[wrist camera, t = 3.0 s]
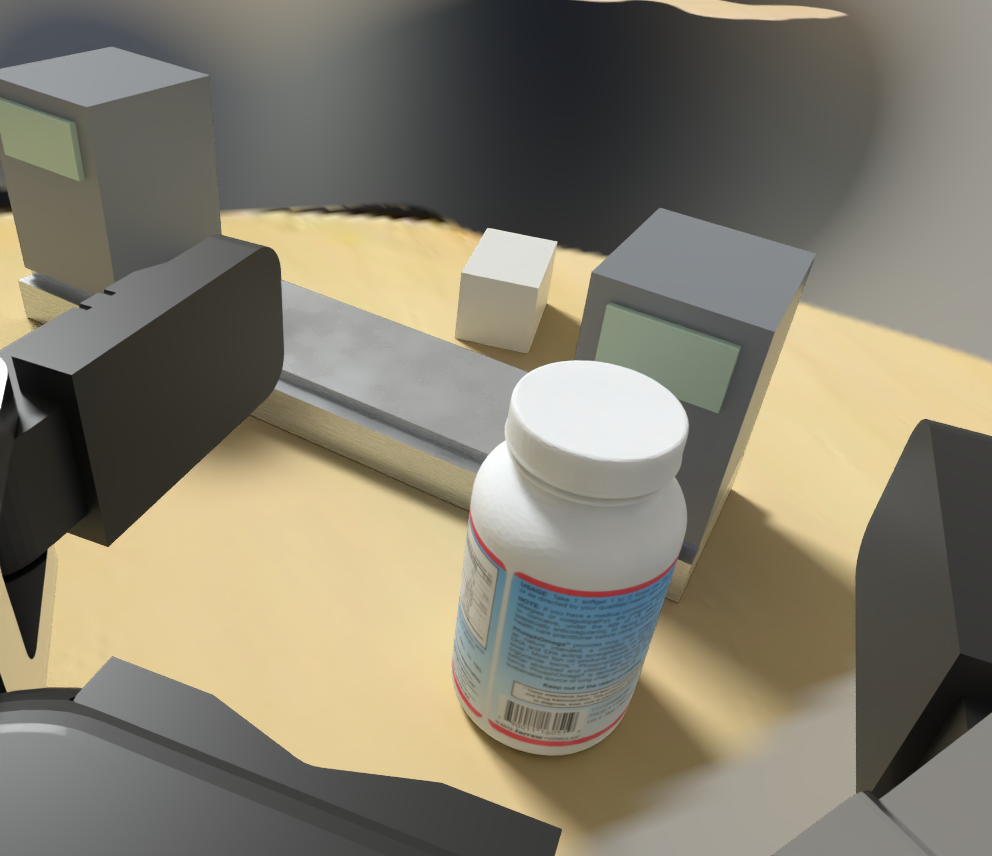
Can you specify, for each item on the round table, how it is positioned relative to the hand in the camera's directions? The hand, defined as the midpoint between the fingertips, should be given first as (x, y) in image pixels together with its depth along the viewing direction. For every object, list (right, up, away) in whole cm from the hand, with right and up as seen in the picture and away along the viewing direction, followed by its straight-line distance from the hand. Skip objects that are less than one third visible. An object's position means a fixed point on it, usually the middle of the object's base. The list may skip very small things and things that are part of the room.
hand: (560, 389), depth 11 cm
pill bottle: (+1, -9, +18) cm, 20 cm away
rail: (-7, +1, +30) cm, 31 cm away
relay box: (0, +5, +38) cm, 38 cm away
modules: (-7, +3, +28) cm, 29 cm away
